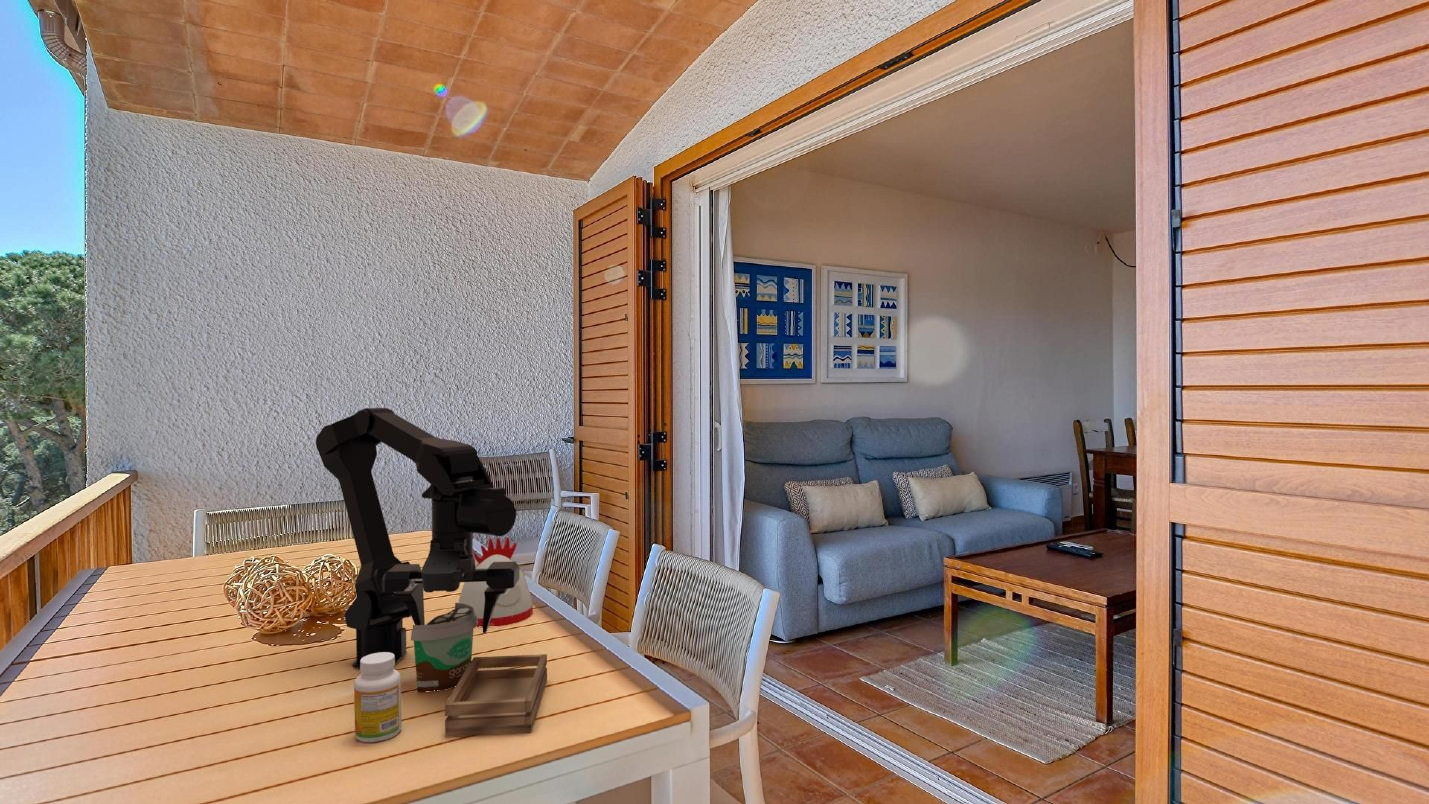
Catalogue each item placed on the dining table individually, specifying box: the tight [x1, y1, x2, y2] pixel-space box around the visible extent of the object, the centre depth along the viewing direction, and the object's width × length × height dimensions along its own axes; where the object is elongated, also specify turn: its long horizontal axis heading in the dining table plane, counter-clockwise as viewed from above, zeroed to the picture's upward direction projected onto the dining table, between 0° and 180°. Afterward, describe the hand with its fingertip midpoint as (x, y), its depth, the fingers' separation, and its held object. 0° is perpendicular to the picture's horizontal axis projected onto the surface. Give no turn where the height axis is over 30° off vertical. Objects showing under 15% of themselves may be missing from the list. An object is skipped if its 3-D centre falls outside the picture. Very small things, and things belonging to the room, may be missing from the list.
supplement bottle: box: [353, 652, 403, 743], centre depth 94 cm, size 5×5×10 cm
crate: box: [444, 653, 548, 738], centre depth 102 cm, size 11×17×4 cm, turn 6°
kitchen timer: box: [457, 536, 534, 628], centre depth 143 cm, size 14×14×15 cm
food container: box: [410, 602, 478, 693], centre depth 111 cm, size 12×6×10 cm, turn 168°
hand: (453, 633), depth 111 cm, fingers open, 9 cm apart
